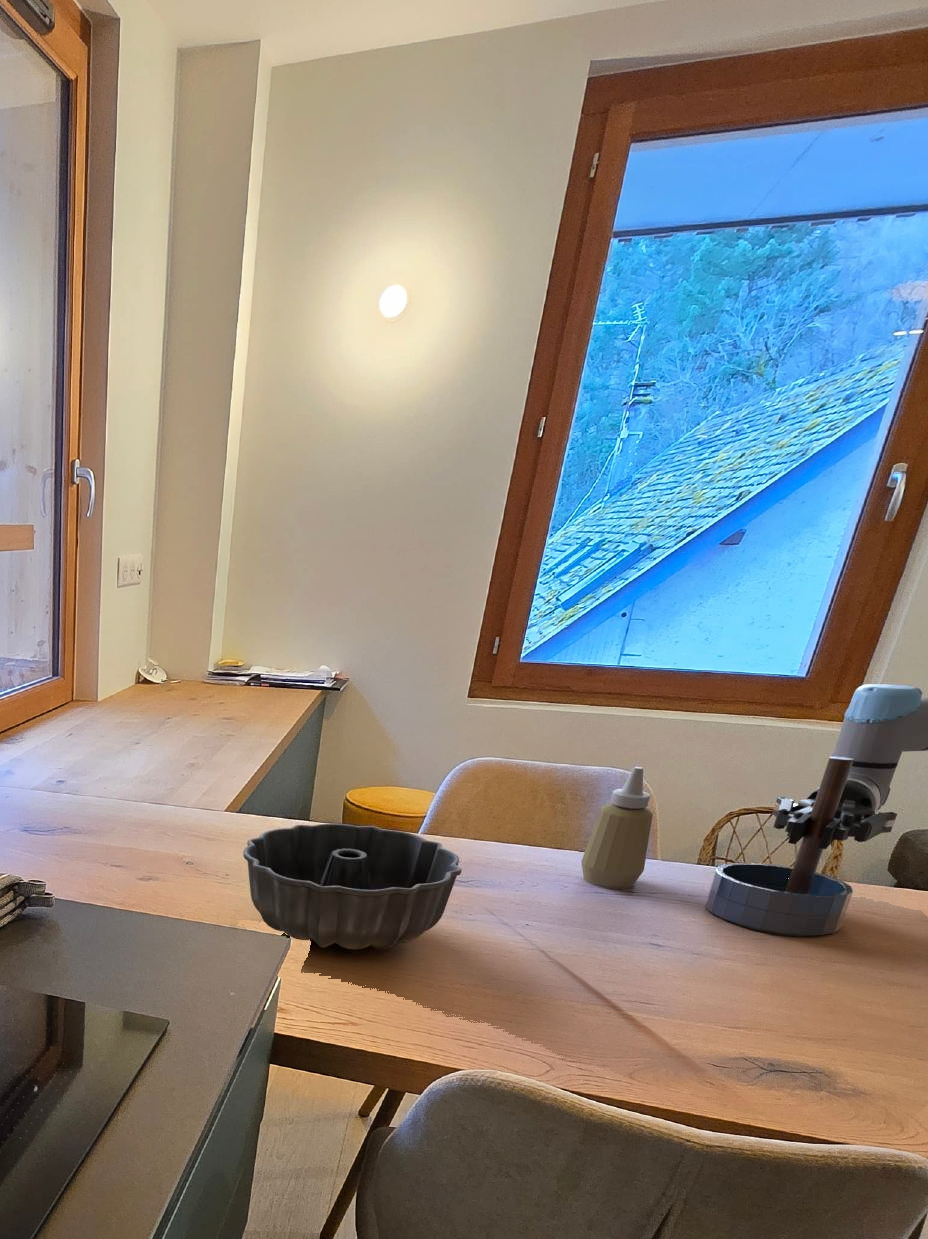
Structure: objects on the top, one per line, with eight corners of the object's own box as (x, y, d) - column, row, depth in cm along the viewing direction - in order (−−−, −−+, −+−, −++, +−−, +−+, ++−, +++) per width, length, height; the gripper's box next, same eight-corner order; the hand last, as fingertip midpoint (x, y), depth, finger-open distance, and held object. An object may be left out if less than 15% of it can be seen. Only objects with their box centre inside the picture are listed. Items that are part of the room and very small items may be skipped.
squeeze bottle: (578, 893, 139) (609, 772, 132) (572, 875, 146) (602, 758, 138) (642, 900, 137) (677, 777, 129) (633, 881, 143) (666, 763, 136)
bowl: (866, 940, 122) (882, 896, 120) (754, 941, 122) (768, 896, 120) (781, 903, 136) (794, 862, 133) (679, 903, 135) (691, 862, 133)
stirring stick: (824, 914, 125) (877, 762, 118) (787, 914, 125) (838, 762, 118) (795, 902, 130) (845, 754, 122) (759, 902, 130) (806, 754, 122)
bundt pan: (195, 918, 128) (200, 847, 124) (321, 874, 142) (329, 809, 138) (362, 989, 109) (375, 908, 105) (488, 931, 123) (504, 857, 119)
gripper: (902, 842, 131) (878, 878, 116) (766, 821, 142) (728, 851, 126) (923, 788, 128) (901, 817, 113) (782, 771, 139) (745, 795, 123)
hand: (810, 835), depth 120 cm, fingers closed on stirring stick, 2 cm apart
